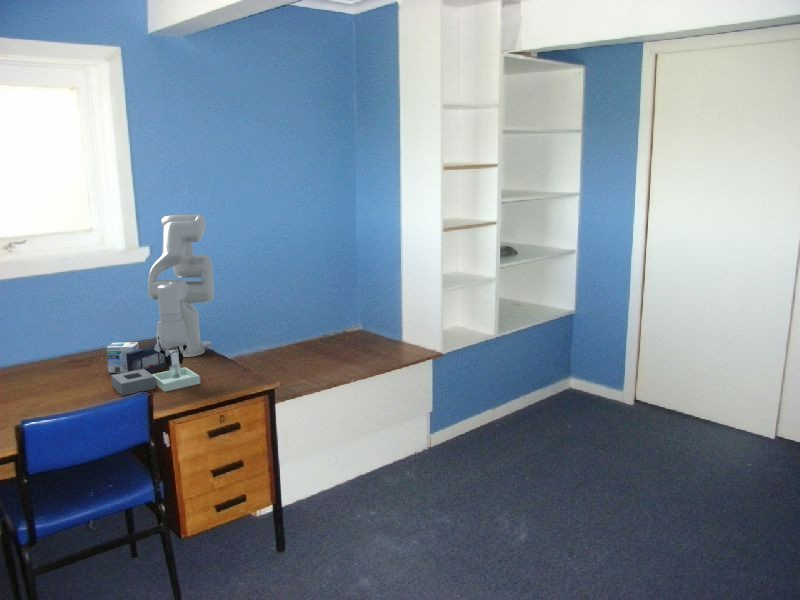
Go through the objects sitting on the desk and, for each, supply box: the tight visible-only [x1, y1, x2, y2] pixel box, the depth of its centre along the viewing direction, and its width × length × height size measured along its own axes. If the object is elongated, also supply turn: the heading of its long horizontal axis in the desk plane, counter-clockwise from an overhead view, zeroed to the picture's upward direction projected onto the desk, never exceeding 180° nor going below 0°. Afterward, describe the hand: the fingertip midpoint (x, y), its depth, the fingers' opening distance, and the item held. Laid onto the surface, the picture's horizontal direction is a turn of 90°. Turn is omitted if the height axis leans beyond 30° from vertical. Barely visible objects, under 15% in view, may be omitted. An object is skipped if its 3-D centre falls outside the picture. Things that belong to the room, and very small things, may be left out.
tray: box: [151, 367, 201, 392], centre depth 259 cm, size 14×14×3 cm
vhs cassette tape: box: [126, 343, 168, 374], centre depth 272 cm, size 18×3×10 cm, turn 147°
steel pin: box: [168, 349, 181, 379], centre depth 258 cm, size 4×4×10 cm
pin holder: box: [110, 369, 157, 396], centre depth 254 cm, size 12×12×4 cm
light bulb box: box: [106, 341, 140, 374], centre depth 273 cm, size 11×7×11 cm, turn 92°
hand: (174, 363), depth 258 cm, fingers closed on steel pin, 3 cm apart
